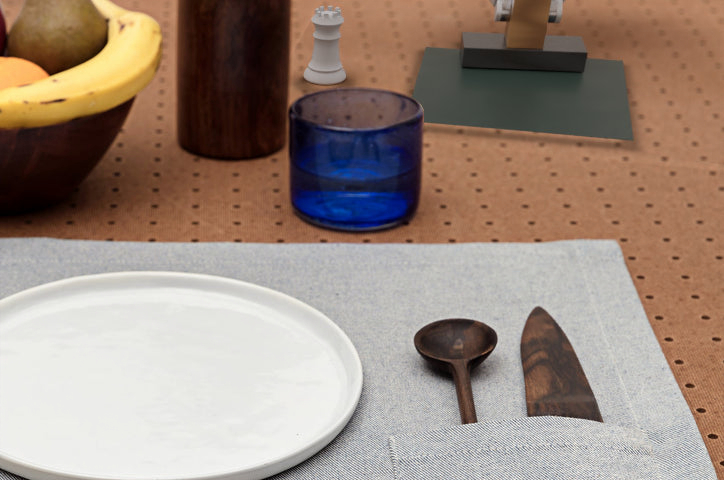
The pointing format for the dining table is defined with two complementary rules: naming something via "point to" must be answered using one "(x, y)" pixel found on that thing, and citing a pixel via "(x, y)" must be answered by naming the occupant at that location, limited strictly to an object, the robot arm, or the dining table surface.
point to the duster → (524, 43)
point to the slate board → (525, 97)
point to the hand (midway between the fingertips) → (528, 19)
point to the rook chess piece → (326, 48)
